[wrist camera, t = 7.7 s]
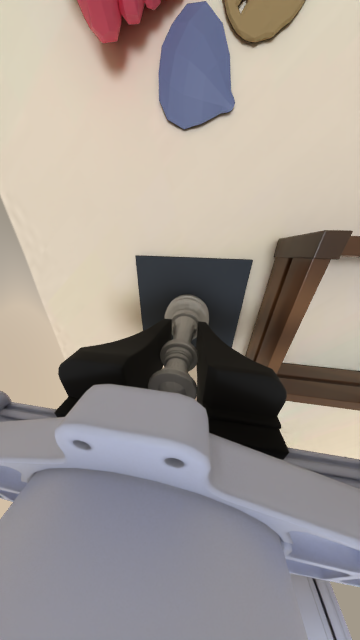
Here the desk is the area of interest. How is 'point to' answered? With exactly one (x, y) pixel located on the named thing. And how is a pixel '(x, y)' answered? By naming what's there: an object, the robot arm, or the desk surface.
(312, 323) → the desk surface
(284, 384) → the crate
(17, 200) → the desk surface
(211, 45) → the toy pieces
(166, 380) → the chess piece
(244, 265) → the mat
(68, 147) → the desk surface
